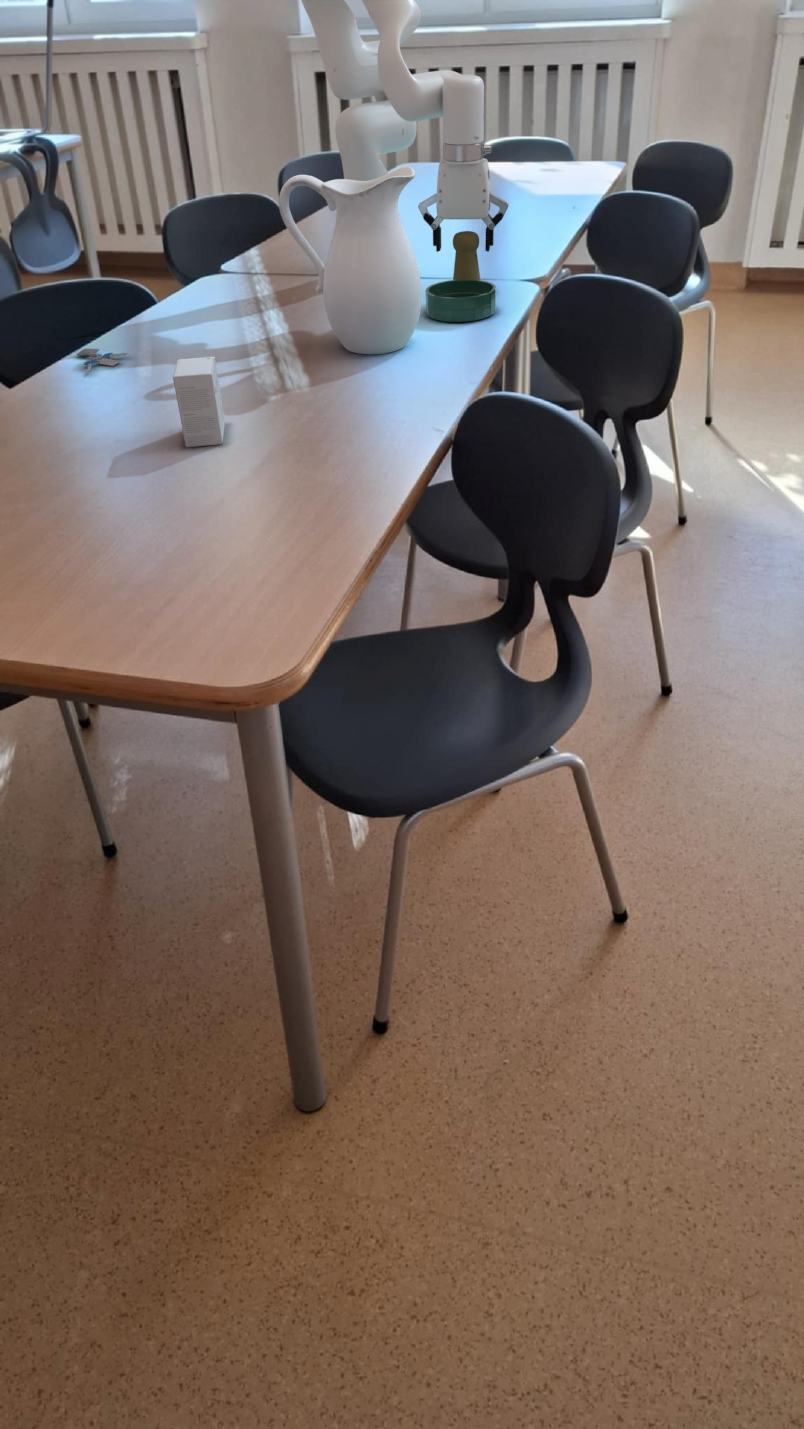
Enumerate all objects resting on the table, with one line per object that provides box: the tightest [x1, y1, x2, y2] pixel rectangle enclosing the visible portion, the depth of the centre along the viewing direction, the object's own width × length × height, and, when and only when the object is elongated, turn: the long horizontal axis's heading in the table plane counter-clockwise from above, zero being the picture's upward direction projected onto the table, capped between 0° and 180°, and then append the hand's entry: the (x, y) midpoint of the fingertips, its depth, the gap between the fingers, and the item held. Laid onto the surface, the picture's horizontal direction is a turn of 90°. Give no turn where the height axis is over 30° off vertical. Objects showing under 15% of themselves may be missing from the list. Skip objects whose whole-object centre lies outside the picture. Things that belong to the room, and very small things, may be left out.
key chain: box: [75, 348, 128, 373], centre depth 190 cm, size 14×8×1 cm, turn 23°
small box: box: [172, 356, 226, 448], centre depth 155 cm, size 8×6×10 cm
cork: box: [452, 230, 481, 280], centre depth 209 cm, size 6×6×11 cm
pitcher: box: [278, 165, 423, 355], centre depth 182 cm, size 24×17×28 cm
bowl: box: [424, 279, 497, 323], centre depth 201 cm, size 13×13×4 cm
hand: (463, 249), depth 209 cm, fingers open, 9 cm apart
